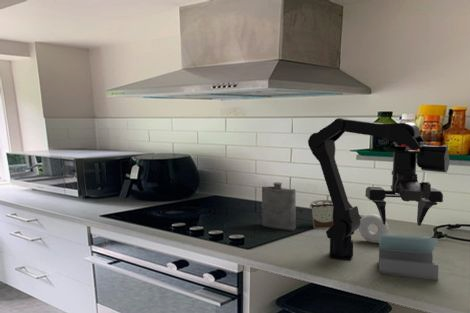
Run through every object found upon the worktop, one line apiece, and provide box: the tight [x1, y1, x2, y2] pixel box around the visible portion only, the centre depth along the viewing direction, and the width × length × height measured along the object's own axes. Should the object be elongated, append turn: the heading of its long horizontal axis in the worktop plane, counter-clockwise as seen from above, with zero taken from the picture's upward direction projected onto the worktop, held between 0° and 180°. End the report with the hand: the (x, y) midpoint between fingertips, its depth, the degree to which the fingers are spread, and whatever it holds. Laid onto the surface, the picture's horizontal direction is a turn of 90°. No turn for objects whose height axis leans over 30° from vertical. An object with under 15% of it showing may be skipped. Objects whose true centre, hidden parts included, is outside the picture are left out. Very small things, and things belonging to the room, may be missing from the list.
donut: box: [358, 213, 390, 244], centre depth 126 cm, size 10×4×10 cm, turn 54°
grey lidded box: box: [378, 248, 439, 281], centre depth 103 cm, size 14×9×4 cm, turn 72°
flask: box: [261, 181, 297, 231], centre depth 145 cm, size 4×14×18 cm, turn 57°
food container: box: [309, 199, 333, 229], centre depth 147 cm, size 12×6×10 cm, turn 92°
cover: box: [378, 233, 439, 254], centre depth 103 cm, size 14×9×1 cm
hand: (401, 224), depth 102 cm, fingers open, 9 cm apart
